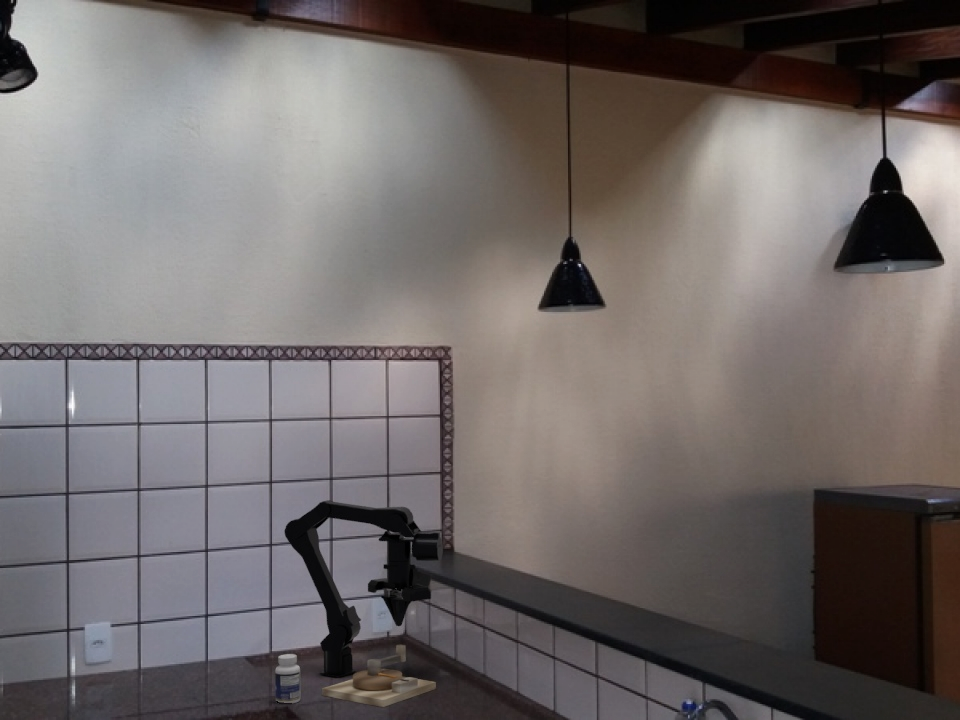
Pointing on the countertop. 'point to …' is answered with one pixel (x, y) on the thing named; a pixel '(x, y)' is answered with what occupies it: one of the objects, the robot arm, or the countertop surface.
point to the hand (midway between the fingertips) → (398, 625)
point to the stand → (380, 691)
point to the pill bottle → (287, 679)
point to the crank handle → (380, 672)
